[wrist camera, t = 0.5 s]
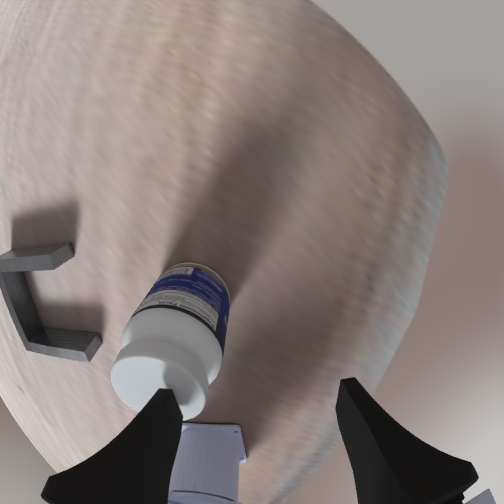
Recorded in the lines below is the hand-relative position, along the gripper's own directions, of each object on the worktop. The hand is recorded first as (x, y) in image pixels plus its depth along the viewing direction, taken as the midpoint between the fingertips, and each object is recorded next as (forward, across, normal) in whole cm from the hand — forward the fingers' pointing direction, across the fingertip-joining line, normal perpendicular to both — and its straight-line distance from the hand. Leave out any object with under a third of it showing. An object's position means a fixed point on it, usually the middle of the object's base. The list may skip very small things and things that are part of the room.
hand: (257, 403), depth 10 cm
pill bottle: (+10, +5, 0) cm, 11 cm away
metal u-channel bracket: (+10, +19, 0) cm, 21 cm away
